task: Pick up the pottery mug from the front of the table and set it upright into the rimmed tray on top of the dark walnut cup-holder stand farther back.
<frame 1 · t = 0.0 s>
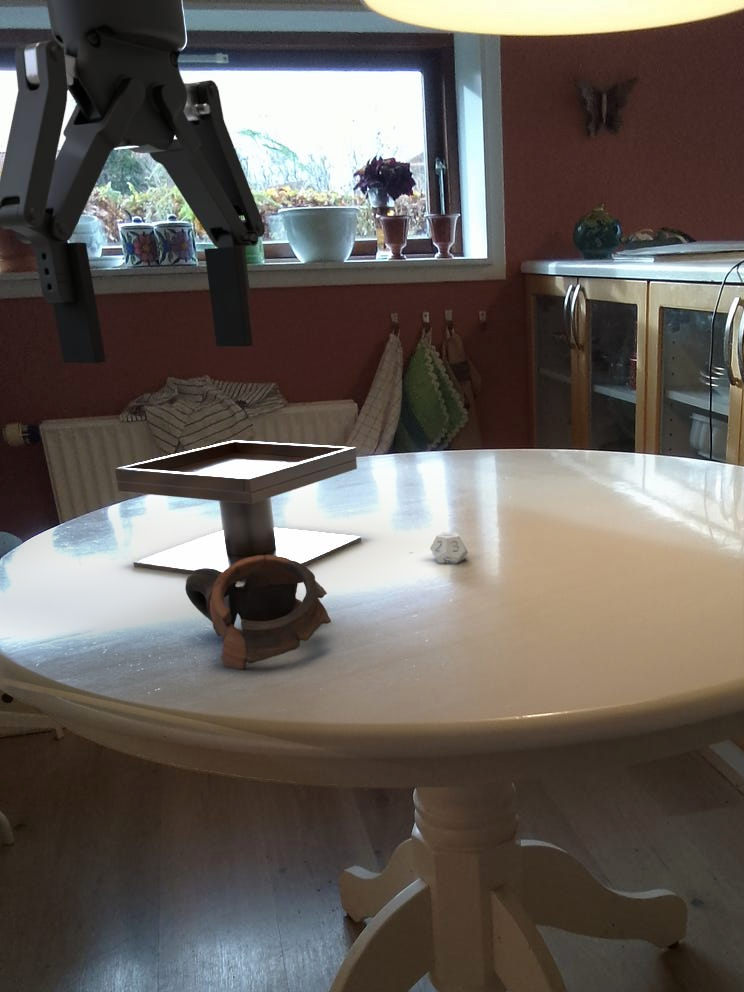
hand: (166, 354, 61), 22 cm above the table, tool pointing down, fingers open, 13 cm apart
game die: (449, 567, 89), on the table
pottery mug: (261, 652, 70), on the table
cup holder: (252, 558, 93), on the table
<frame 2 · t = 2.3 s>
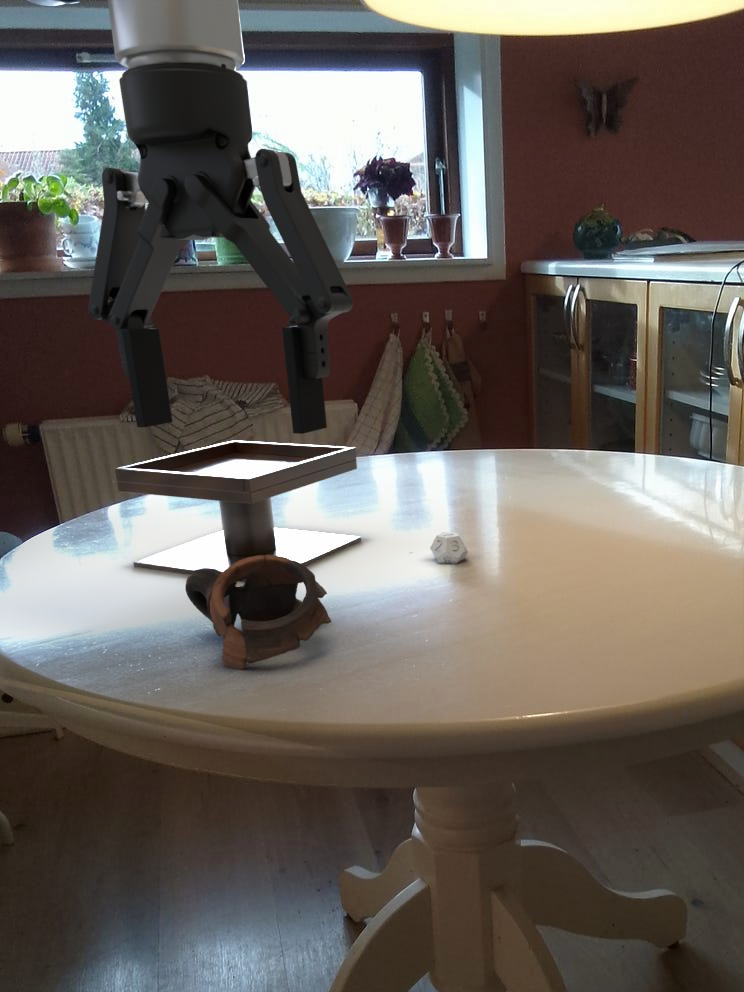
hand: (229, 428, 63), 17 cm above the table, tool pointing down, fingers open, 13 cm apart
nothing on the table moved.
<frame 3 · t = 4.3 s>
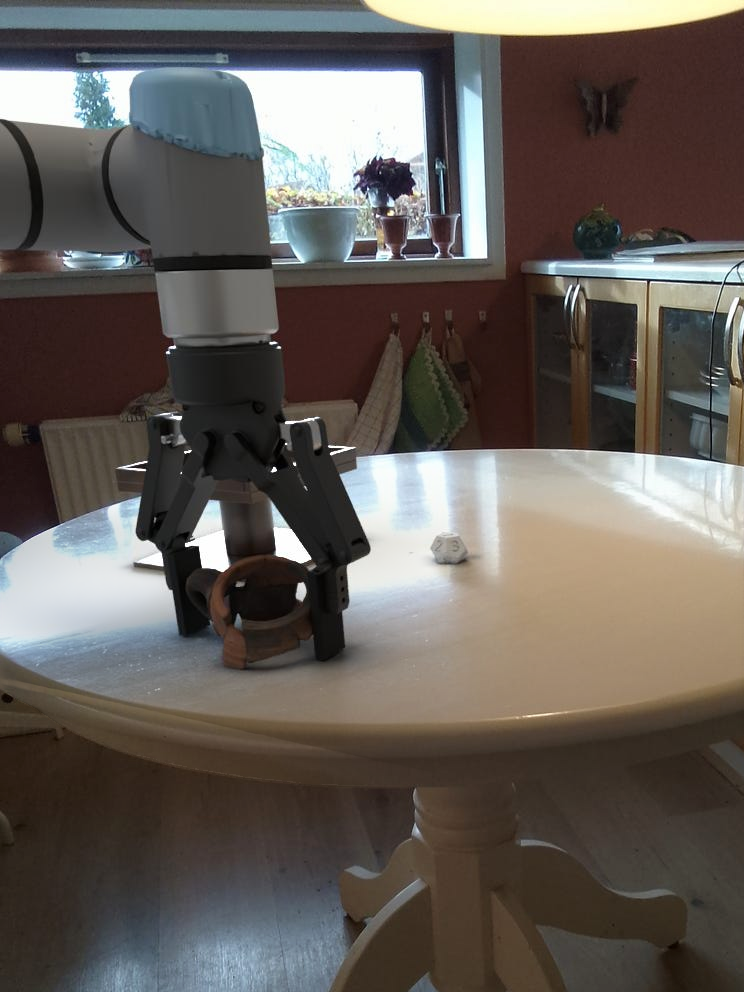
hand: (260, 641, 69), 1 cm above the table, tool pointing down, fingers closed on pottery mug, 12 cm apart
pottery mug: (261, 652, 70), on the table, touching gripper
everything else where it was.
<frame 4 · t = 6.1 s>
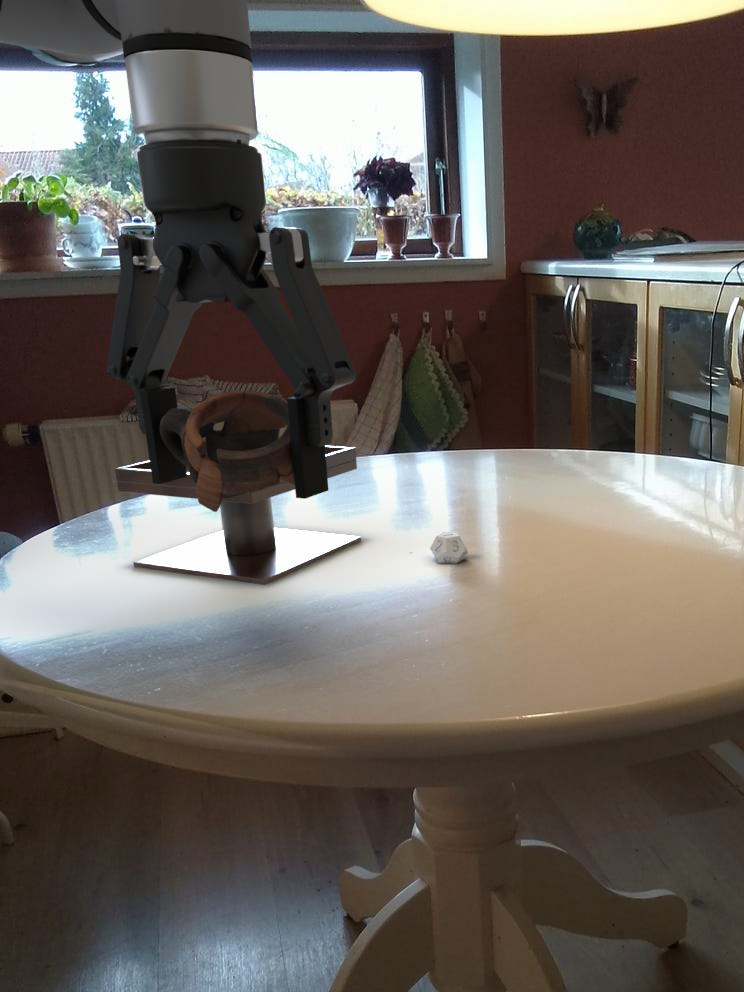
hand: (238, 487, 65), 12 cm above the table, tool pointing down, fingers closed on pottery mug, 12 cm apart
pottery mug: (240, 499, 66), point 11 cm above the table, touching gripper
everything else where it was.
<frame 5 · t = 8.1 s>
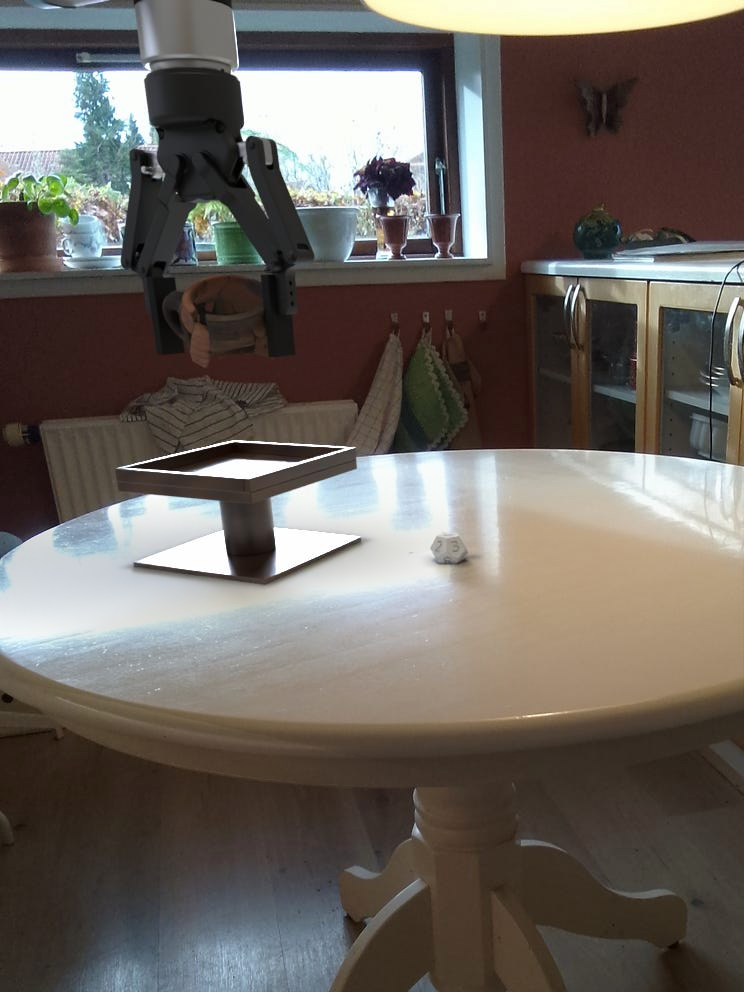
hand: (225, 355, 82), 20 cm above the table, tool pointing down, fingers closed on pottery mug, 12 cm apart
pottery mug: (226, 365, 82), point 19 cm above the table, touching gripper
everything else where it was.
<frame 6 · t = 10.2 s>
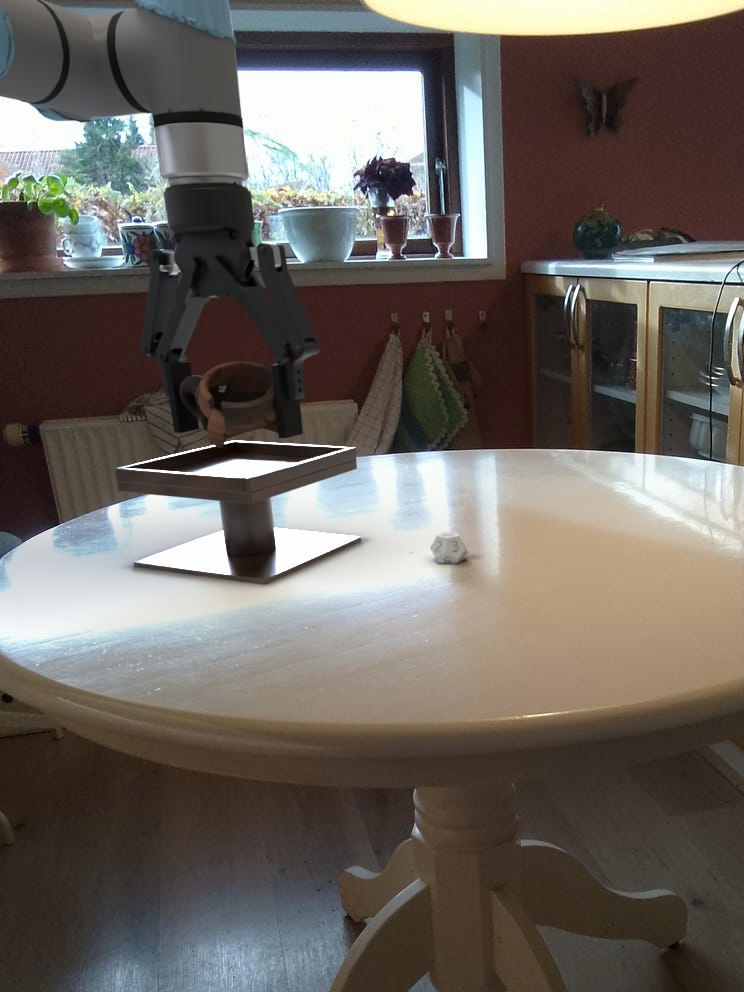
hand: (237, 433, 89), 12 cm above the table, tool pointing down, fingers closed on pottery mug, 12 cm apart
pottery mug: (238, 442, 89), point 12 cm above the table, touching gripper
everything else where it was.
when the fingers open (10 cm above the table, at t = 11.8 s): pottery mug stays where it is, resting on cup holder.
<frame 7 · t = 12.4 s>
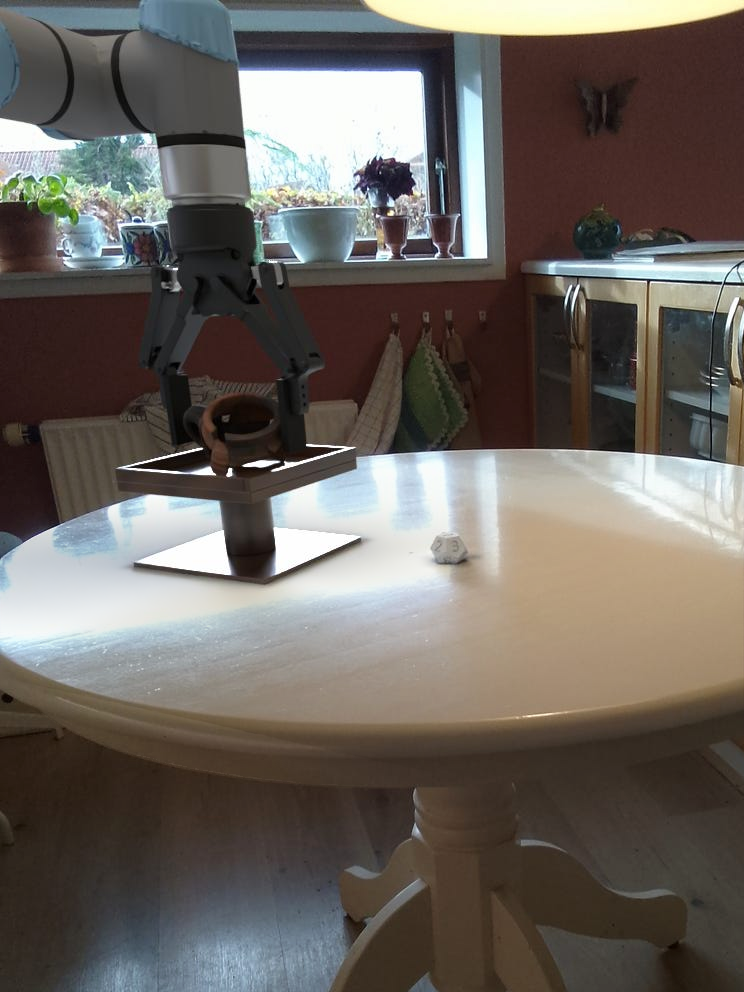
hand: (238, 446, 89), 11 cm above the table, tool pointing down, fingers open, 13 cm apart
pottery mug: (241, 471, 90), point 9 cm above the table, touching cup holder
everything else where it was.
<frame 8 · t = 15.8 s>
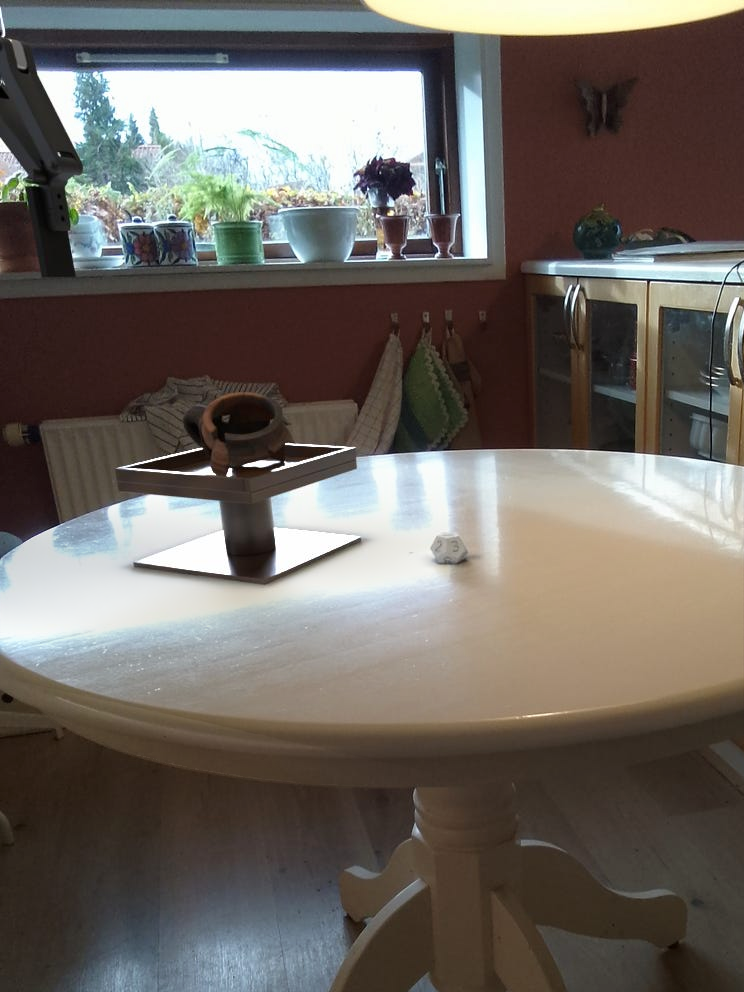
hand: (1, 280, 77), 27 cm above the table, tool pointing down, fingers open, 13 cm apart
nothing on the table moved.
at the end: pottery mug inside the target area on the cup holder (0.0 cm from its centre), point 8.8 cm above the cup holder's base; pottery mug tilted 0°; the gripper is holding nothing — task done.
